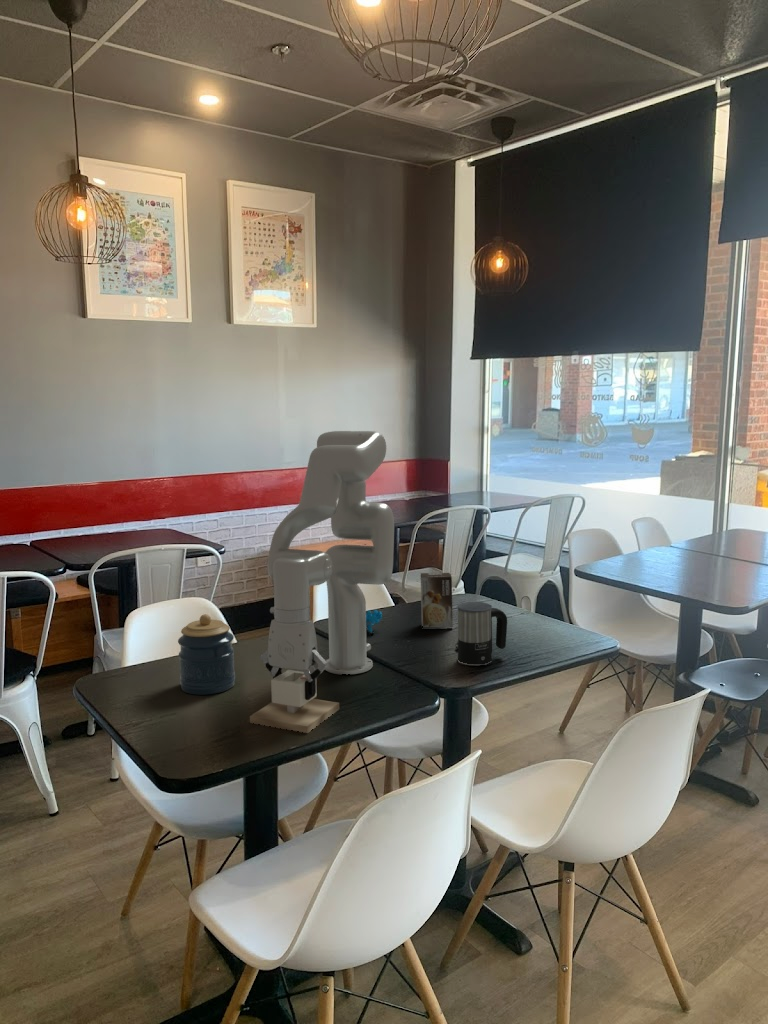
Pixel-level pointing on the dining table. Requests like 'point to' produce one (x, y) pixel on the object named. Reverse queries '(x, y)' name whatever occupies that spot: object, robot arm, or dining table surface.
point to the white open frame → (290, 689)
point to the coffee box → (436, 600)
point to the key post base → (295, 715)
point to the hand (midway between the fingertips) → (294, 694)
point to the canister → (206, 657)
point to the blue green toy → (372, 618)
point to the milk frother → (479, 632)
